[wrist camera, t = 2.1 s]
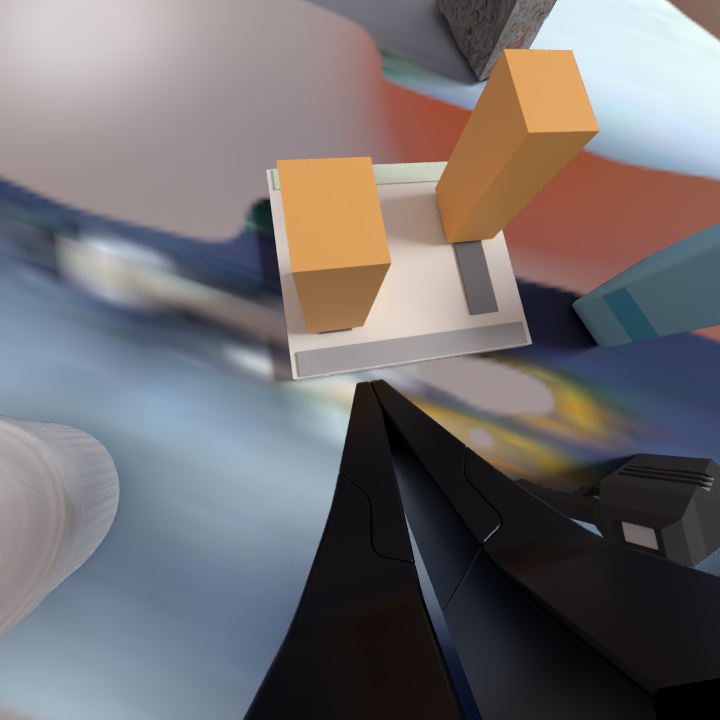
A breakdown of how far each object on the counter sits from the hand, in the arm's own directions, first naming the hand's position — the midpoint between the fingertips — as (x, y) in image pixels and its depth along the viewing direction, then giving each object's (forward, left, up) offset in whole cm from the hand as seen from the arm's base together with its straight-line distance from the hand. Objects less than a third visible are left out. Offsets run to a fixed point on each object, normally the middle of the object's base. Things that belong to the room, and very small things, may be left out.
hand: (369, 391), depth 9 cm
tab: (+18, +3, -10) cm, 21 cm away
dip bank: (+11, +4, -12) cm, 17 cm away
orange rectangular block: (+5, +6, -10) cm, 13 cm away
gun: (+9, -20, -12) cm, 25 cm away
